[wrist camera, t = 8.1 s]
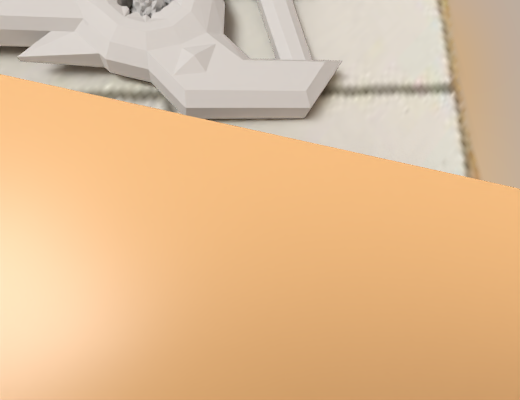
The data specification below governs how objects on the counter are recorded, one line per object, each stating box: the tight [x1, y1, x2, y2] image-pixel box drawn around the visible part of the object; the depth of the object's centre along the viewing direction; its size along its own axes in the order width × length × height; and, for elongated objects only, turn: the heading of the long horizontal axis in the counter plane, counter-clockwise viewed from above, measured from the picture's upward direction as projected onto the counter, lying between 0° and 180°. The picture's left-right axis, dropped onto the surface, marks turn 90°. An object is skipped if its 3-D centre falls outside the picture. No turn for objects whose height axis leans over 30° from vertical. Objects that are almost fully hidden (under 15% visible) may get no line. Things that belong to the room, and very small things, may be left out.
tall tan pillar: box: [0, 74, 520, 400], centre depth 8 cm, size 6×6×13 cm
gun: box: [0, 0, 342, 119], centre depth 19 cm, size 18×3×10 cm
